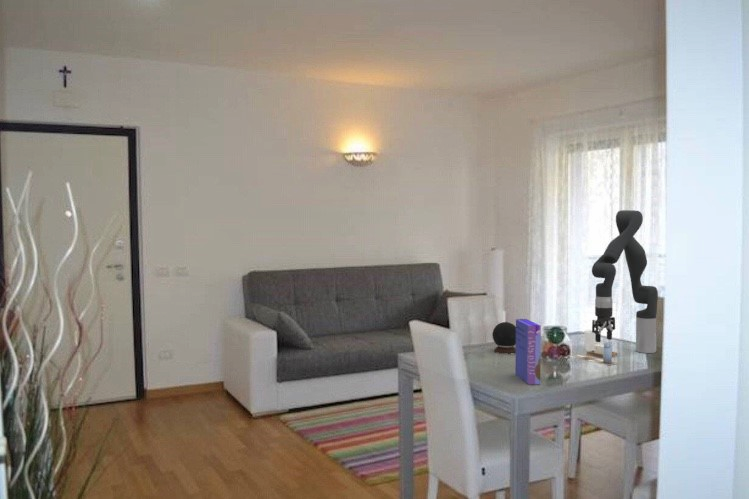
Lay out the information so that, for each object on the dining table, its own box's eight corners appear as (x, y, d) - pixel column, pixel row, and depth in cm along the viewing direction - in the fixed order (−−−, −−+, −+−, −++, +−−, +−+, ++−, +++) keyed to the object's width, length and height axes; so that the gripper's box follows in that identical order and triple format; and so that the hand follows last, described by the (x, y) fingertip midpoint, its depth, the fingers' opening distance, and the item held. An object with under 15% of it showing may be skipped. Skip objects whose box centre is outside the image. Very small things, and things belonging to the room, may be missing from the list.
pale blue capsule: (607, 361, 290) (607, 341, 289) (613, 362, 287) (613, 342, 286) (601, 362, 288) (601, 342, 288) (608, 363, 285) (608, 343, 285)
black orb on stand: (524, 352, 314) (524, 322, 313) (506, 355, 306) (506, 325, 306) (505, 348, 325) (505, 319, 324) (486, 351, 317) (487, 321, 317)
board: (577, 355, 305) (577, 354, 305) (617, 364, 287) (617, 362, 287) (568, 357, 301) (568, 356, 301) (607, 366, 283) (607, 364, 283)
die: (600, 354, 307) (600, 343, 306) (609, 355, 302) (609, 345, 302) (593, 355, 304) (594, 345, 304) (603, 357, 300) (603, 346, 299)
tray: (599, 353, 310) (599, 349, 310) (617, 357, 302) (617, 352, 302) (586, 356, 304) (586, 351, 304) (604, 359, 296) (604, 355, 296)
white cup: (583, 352, 314) (583, 332, 314) (584, 349, 322) (584, 329, 321) (600, 353, 311) (600, 333, 311) (600, 350, 319) (601, 330, 318)
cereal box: (540, 384, 251) (540, 325, 250) (528, 385, 250) (529, 325, 249) (526, 374, 268) (526, 318, 267) (515, 374, 268) (515, 318, 267)
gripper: (606, 303, 296) (605, 337, 297) (587, 306, 288) (587, 341, 289) (620, 305, 290) (620, 339, 291) (601, 308, 282) (601, 344, 283)
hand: (603, 340), depth 290 cm, fingers open, 8 cm apart
